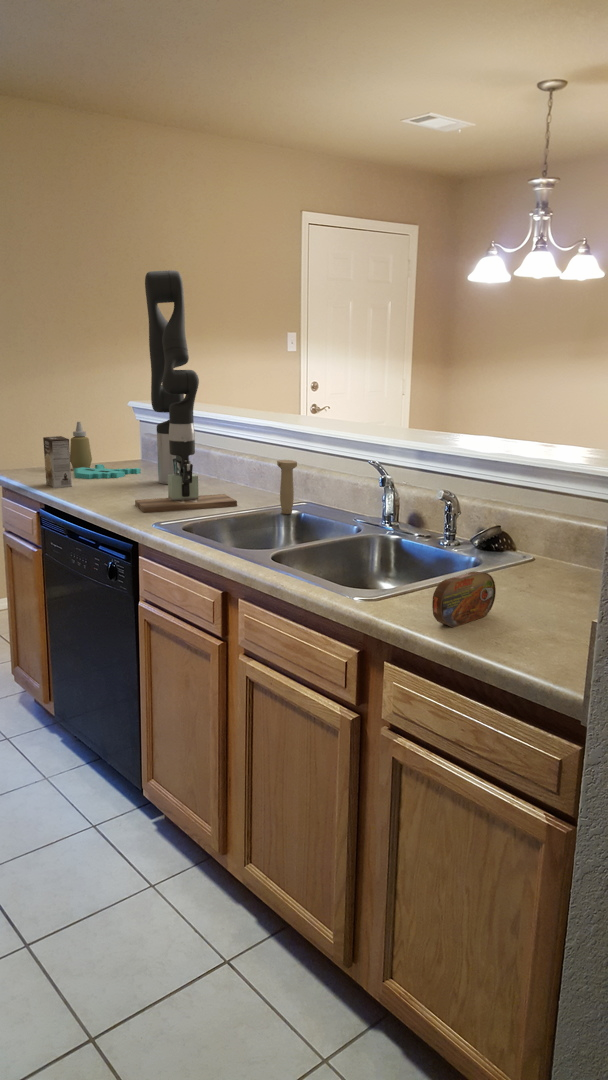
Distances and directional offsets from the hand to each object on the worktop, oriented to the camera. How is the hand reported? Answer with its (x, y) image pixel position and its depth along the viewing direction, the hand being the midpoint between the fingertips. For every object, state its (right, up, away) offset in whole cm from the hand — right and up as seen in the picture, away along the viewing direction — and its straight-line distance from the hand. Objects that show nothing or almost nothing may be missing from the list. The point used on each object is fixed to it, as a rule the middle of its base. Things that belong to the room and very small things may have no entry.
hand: (183, 494), depth 242 cm
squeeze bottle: (-48, +13, +62) cm, 80 cm away
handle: (+31, -6, -11) cm, 34 cm away
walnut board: (+1, -3, -2) cm, 4 cm away
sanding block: (0, -1, 0) cm, 1 cm away
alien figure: (-38, +10, +52) cm, 65 cm away
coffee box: (-46, +5, +29) cm, 55 cm away
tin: (+65, -28, -99) cm, 121 cm away
